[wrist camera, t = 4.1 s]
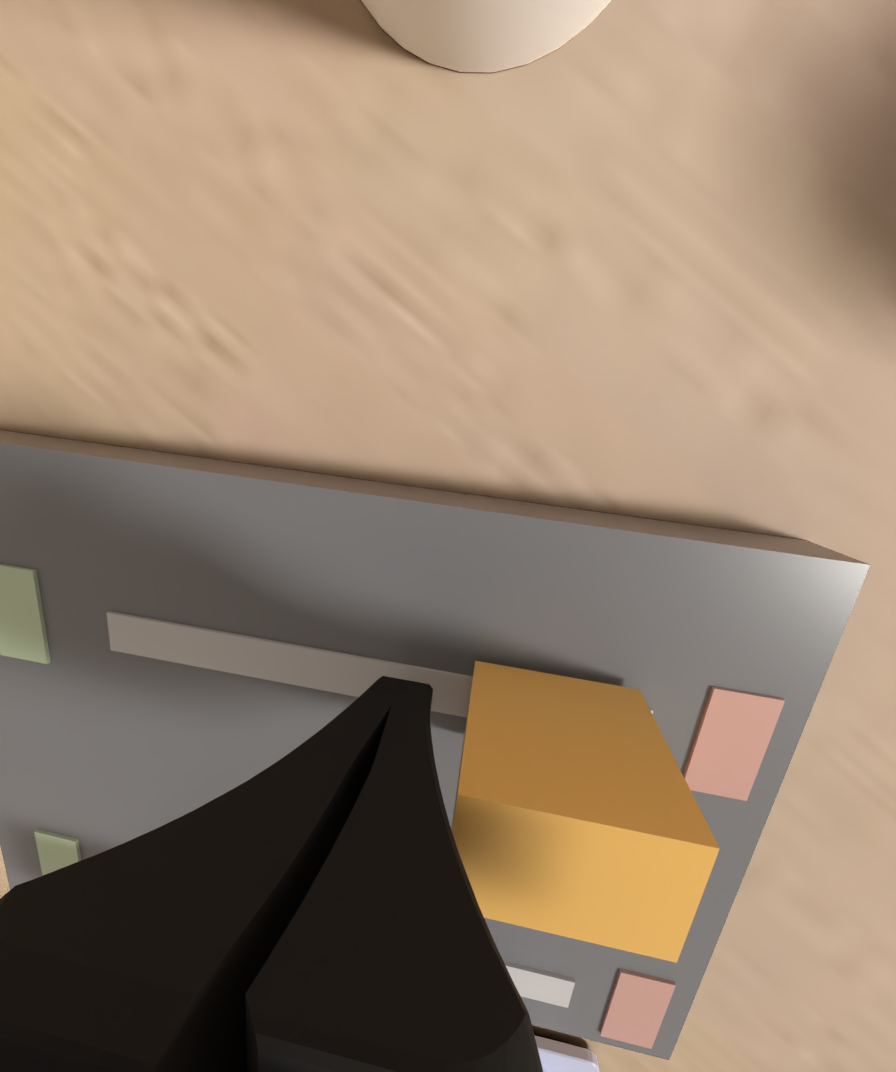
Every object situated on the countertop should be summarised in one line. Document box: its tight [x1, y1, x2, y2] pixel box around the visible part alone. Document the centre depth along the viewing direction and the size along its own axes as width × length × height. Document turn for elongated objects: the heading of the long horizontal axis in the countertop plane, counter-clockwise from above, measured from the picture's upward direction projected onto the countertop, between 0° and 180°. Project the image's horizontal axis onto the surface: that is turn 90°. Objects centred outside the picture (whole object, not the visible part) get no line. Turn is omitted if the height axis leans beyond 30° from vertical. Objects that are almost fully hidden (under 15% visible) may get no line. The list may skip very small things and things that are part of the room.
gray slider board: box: [0, 430, 870, 1060], centre depth 13 cm, size 17×24×2 cm
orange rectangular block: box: [451, 661, 720, 963], centre depth 9 cm, size 2×4×4 cm, turn 83°
